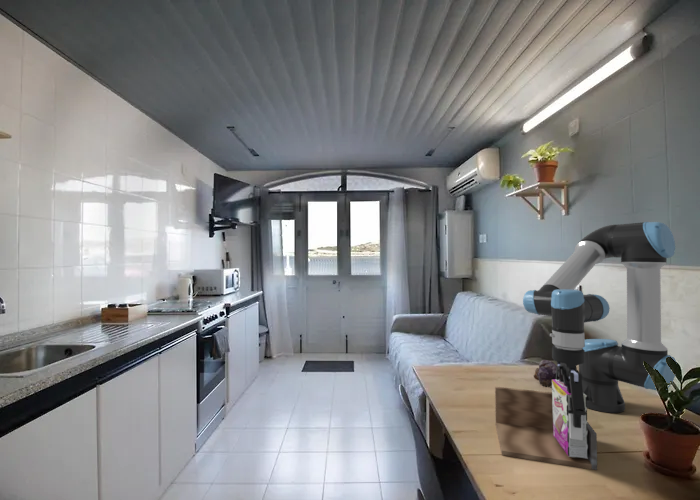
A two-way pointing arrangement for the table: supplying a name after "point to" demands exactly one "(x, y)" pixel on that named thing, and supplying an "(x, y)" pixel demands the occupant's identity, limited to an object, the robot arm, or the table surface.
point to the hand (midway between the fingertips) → (569, 427)
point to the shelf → (534, 428)
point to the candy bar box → (567, 422)
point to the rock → (546, 372)
